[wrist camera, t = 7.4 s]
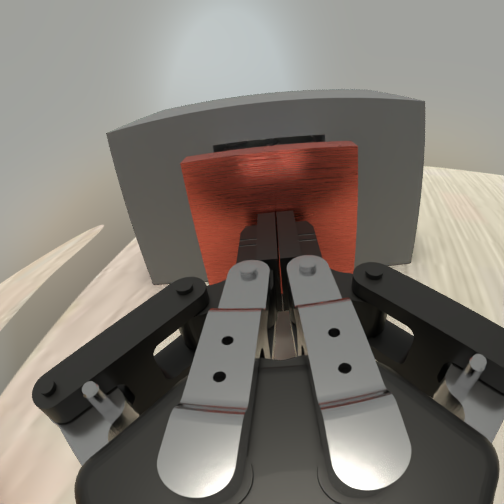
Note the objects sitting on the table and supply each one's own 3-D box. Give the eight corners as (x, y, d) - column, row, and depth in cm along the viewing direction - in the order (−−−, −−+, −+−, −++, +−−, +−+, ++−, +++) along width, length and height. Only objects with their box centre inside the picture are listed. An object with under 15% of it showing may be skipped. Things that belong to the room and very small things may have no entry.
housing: (186, 216, 33) (163, 110, 26) (367, 200, 31) (366, 89, 24) (153, 284, 23) (106, 133, 16) (410, 262, 21) (424, 101, 14)
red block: (234, 202, 25) (220, 121, 21) (317, 195, 25) (312, 112, 21) (213, 298, 15) (180, 163, 11) (352, 287, 14) (357, 145, 11)
